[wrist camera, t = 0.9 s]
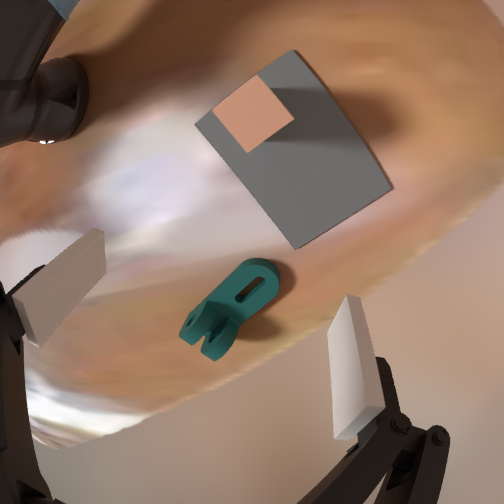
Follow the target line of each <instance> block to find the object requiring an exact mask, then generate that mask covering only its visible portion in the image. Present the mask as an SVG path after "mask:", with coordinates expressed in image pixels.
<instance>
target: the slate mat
mask: <svg viewBox="0 0 504 504" xmlns="http://www.w3.org/2000/svg"><path fill="white" fill-rule="evenodd" d="M256 75H258V76H259V77H260V78H261V80H262V81H263V82H264V83H265V84H266V85H267V86H268V87H269V88H270V89H271V90H272V91H273V93H274V94H275V95H276V96H277V97H278V99H279V100H280V101H281V102H282V103H283V105H284V106H285V107H286V108H287V110H288V111H289V112H290V113H291V115H292V116H293V117H294V118H295V119H294V120H292V121H291V122H290V123H288V124H287V125H285V126H284V127H282V128H281V129H280V130H278V131H277V132H276V133H274V134H273V135H271V136H270V137H269V138H267V139H266V140H265V141H263V142H262V143H261V144H259V145H258V146H256V147H255V148H254V149H252V150H251V151H250V152H248V153H247V152H246V151H245V150H244V149H243V147H242V146H241V145H240V144H239V143H238V141H237V140H236V139H235V138H234V137H233V135H232V134H231V133H230V132H229V131H228V129H227V128H226V127H225V126H224V125H223V123H222V122H221V121H220V120H219V119H218V117H217V116H216V115H215V114H214V113H213V112H212V110H210V111H209V112H208V113H207V114H206V115H205V116H203V117H202V118H201V119H200V120H199V121H198V122H196V123H195V124H194V125H195V126H196V127H197V128H198V130H199V131H200V132H201V133H202V134H203V135H204V137H205V138H206V139H207V140H208V141H209V143H210V144H211V145H212V146H213V147H214V149H215V150H216V151H217V152H218V153H219V155H220V156H221V157H222V158H223V160H224V161H225V162H226V163H227V164H228V166H229V167H230V168H231V169H232V171H233V172H234V173H235V174H236V175H237V177H238V178H239V179H240V180H241V182H242V183H243V184H244V185H245V187H246V188H247V189H248V190H249V192H250V193H251V194H252V195H253V197H254V198H255V199H256V200H257V202H258V203H259V204H260V205H261V207H262V208H263V209H264V211H265V212H266V213H267V214H268V216H269V217H270V218H271V219H272V221H273V222H274V223H275V225H276V226H277V227H278V228H279V230H280V231H281V232H282V234H283V235H284V236H285V238H286V239H287V240H288V241H289V243H290V244H291V245H292V247H293V248H294V249H295V250H296V249H297V248H299V247H301V246H302V245H304V244H306V243H307V242H309V241H310V240H312V239H314V238H315V237H317V236H318V235H320V234H322V233H323V232H325V231H326V230H328V229H330V228H331V227H333V226H334V225H336V224H337V223H339V222H341V221H342V220H344V219H345V218H347V217H348V216H350V215H352V214H353V213H355V212H356V211H358V210H359V209H361V208H363V207H364V206H366V205H367V204H369V203H370V202H372V201H374V200H375V199H377V198H378V197H380V196H381V195H383V194H384V193H386V192H387V191H389V190H391V187H390V185H389V183H388V181H387V180H386V178H385V176H384V175H383V173H382V171H381V169H380V168H379V166H378V164H377V163H376V161H375V160H374V158H373V156H372V155H371V153H370V152H369V150H368V148H367V147H366V145H365V144H364V142H363V141H362V139H361V138H360V136H359V135H358V133H357V132H356V130H355V129H354V127H353V126H352V124H351V123H350V121H349V120H348V119H347V117H346V116H345V114H344V113H343V112H342V110H341V109H340V108H339V106H338V105H337V103H336V102H335V101H334V99H333V98H332V97H331V95H330V94H329V93H328V92H327V90H326V89H325V88H324V86H323V85H322V84H321V83H320V81H319V80H318V79H317V78H316V77H315V75H314V74H313V73H312V72H311V71H310V69H309V68H308V67H307V66H306V65H305V63H304V62H303V61H302V60H301V59H300V58H299V57H298V55H297V54H296V53H295V52H294V51H293V50H291V51H289V52H288V53H286V54H284V55H283V56H282V57H280V58H279V59H277V60H276V61H274V62H273V63H271V64H270V65H268V66H267V67H266V68H264V69H263V70H261V71H260V72H259V73H257V74H256ZM253 77H254V76H253ZM253 77H252V78H253ZM249 80H250V79H249ZM249 80H248V81H249ZM245 83H246V82H245ZM245 83H244V84H245ZM241 86H242V85H241ZM241 86H240V87H241ZM237 89H238V88H237ZM237 89H236V90H237ZM236 90H235V91H236ZM232 93H233V92H232ZM232 93H231V94H232ZM231 94H230V95H231ZM227 97H228V96H227ZM227 97H226V98H227ZM226 98H225V99H226ZM222 101H223V100H222ZM222 101H221V102H222ZM221 102H220V103H221ZM216 106H217V105H216ZM216 106H215V107H216ZM215 107H214V108H215Z"/></svg>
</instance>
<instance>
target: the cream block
mask: <svg viewBox="0 0 504 504" xmlns="http://www.w3.org/2000/svg"><path fill="white" fill-rule="evenodd" d="M212 112H213V113H214V114H215V115H216V116H217V117H218V119H219V120H220V121H221V122H222V123H223V125H224V126H225V127H226V128H227V129H228V131H229V132H230V133H231V134H232V135H233V137H234V138H235V139H236V140H237V141H238V143H239V144H240V145H241V146H242V147H243V149H244V150H245V151H246V152H247V153H248V152H250V151H251V150H252V149H254V148H255V147H256V146H258V145H259V144H261V143H262V142H263V141H265V140H266V139H267V138H269V137H270V136H271V135H273V134H274V133H276V132H277V131H278V130H280V129H281V128H282V127H284V126H285V125H287V124H288V123H290V122H291V121H292V120H294V119H295V118H294V117H293V116H292V115H291V113H290V112H289V111H288V110H287V108H286V107H285V106H284V105H283V103H282V102H281V101H280V100H279V99H278V97H277V96H276V95H275V94H274V93H273V91H272V90H271V89H270V88H269V87H268V86H267V85H266V84H265V83H264V82H263V81H262V80H261V78H260V77H259V76H258V75H255V76H254V77H253V78H251V79H250V80H249V81H247V82H246V83H245V84H243V85H242V86H241V87H239V88H238V89H237V90H236V91H234V92H233V93H232V94H231V95H229V96H228V97H227V98H226V99H224V100H223V101H222V102H221V103H219V104H218V105H217V106H216V107H215V108H213V109H212Z"/></svg>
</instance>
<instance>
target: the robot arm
mask: <svg viewBox="0 0 504 504" xmlns="http://www.w3.org/2000/svg"><path fill="white" fill-rule="evenodd" d="M78 2H79V0H0V148H1V147H4V146H7V145H10V144H13V143H16V142H20V141H24V140H26V141H32V142H39V143H43V144H52V143H56V142H60V141H63V140H65V139H67V138H68V137H70V136H71V135H72V134H73V133H74V132H75V130H76V129H77V128H78V126H79V124H80V123H81V121H82V118H83V116H84V113H85V110H86V107H87V102H88V91H89V89H88V80H87V76H86V73H85V71H84V69H83V67H82V66H81V65H80V63H78V62H77V61H76V60H73V59H70V58H54V59H51V60H49V61H47V62H45V63H42V64H40V63H41V61H42V59H43V58H44V56H45V54H46V52H47V51H48V49H49V47H50V46H51V44H52V42H53V41H54V39H55V37H56V36H57V34H58V33H59V31H60V30H61V28H62V26H63V25H64V24H65V22H66V21H68V19H69V15H70V14H71V12H72V11H73V9H74V8H75V6H76V5H77V3H78ZM105 274H106V260H105V242H104V231H102V230H98V229H95V228H93V229H92V230H90V231H89V232H87V233H86V234H85V235H83V236H82V237H81V238H80V239H78V240H77V241H76V242H74V243H73V244H72V245H70V246H69V247H68V248H67V249H66V250H64V251H63V252H62V253H60V254H59V255H58V256H57V257H55V259H53V260H52V261H51V262H49V264H47V265H42V266H40V267H38V268H35V269H34V270H33V271H32V272H31V273H29V275H27V276H26V277H25V278H24V279H23V280H21V281H20V282H19V283H18V284H17V285H16V286H15V287H14V288H12V289H11V290H10V291H9V292H8V293H7V294H5V291H4V288H3V285H2V283H1V281H0V504H66V503H64V502H61V501H60V500H58V499H55V500H53V499H52V496H51V493H50V490H49V488H48V485H47V483H46V481H45V480H44V479H43V477H42V475H41V473H40V470H39V467H38V463H37V459H36V454H35V450H34V445H33V440H32V434H31V429H30V423H29V416H28V408H27V400H26V390H25V376H24V345H23V339H22V336H23V335H24V334H25V333H26V336H27V338H28V340H29V342H30V343H32V344H34V345H35V346H37V347H38V348H41V347H42V345H43V344H44V343H45V342H46V340H47V339H48V338H49V337H50V336H51V334H52V333H53V332H54V331H55V330H56V328H57V327H58V326H59V325H60V324H61V322H62V321H63V320H64V319H65V318H66V317H67V315H68V314H69V313H70V312H71V311H72V310H73V309H74V307H75V306H76V305H77V304H78V303H79V302H80V301H81V300H82V299H83V297H84V296H85V295H86V294H87V293H88V292H89V291H90V290H91V289H92V288H93V287H94V285H95V284H96V283H97V282H98V281H99V280H100V279H101V278H102V277H103V276H104V275H105ZM327 336H328V346H329V358H330V370H331V385H332V402H333V424H334V439H338V440H351V439H352V438H353V437H355V436H356V435H358V442H357V443H356V444H355V445H354V446H352V447H351V448H350V449H349V450H348V451H347V452H348V453H347V454H346V455H345V456H344V457H343V459H342V460H341V461H340V462H339V463H338V464H337V465H336V466H335V467H334V468H333V470H331V471H330V472H329V473H328V475H327V476H326V477H324V479H322V480H321V481H320V483H318V484H317V485H316V486H315V487H314V488H313V489H312V490H311V491H310V492H309V493H308V494H307V495H306V496H305V497H304V498H302V499H301V500H300V501H299V502H298V503H297V504H363V503H364V502H365V500H366V499H367V498H368V497H369V495H370V494H371V493H372V492H373V490H374V489H375V487H376V486H377V485H378V484H379V482H380V481H381V479H382V478H383V477H384V475H385V474H386V476H385V478H384V481H383V483H382V486H381V488H380V491H379V493H378V495H377V498H376V500H375V502H374V504H437V501H438V498H439V494H440V490H441V486H442V482H443V478H444V473H445V469H446V463H447V458H448V453H449V447H450V436H449V433H448V432H447V431H446V429H445V428H443V427H442V426H438V425H435V426H432V427H431V428H430V429H428V430H427V431H426V430H424V429H420V428H417V427H414V426H412V423H411V421H410V419H409V418H408V417H407V416H406V415H405V414H403V413H401V411H400V407H399V402H398V398H397V393H396V389H395V385H394V381H393V378H392V372H391V369H390V366H389V364H388V363H387V362H386V360H385V358H382V357H375V354H374V350H373V346H372V342H371V337H370V334H369V330H368V326H367V322H366V318H365V314H364V311H363V307H362V303H361V300H360V297H356V296H352V295H348V294H346V296H345V298H344V300H343V302H342V304H341V306H340V308H339V310H338V312H337V314H336V316H335V318H334V320H333V322H332V324H331V326H330V328H329V330H328V332H327ZM386 472H387V473H386Z"/></svg>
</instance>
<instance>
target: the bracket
mask: <svg viewBox="0 0 504 504" xmlns="http://www.w3.org/2000/svg"><path fill="white" fill-rule="evenodd" d="M256 277H263V278H264V280H262V281H261V282H260V283H259V284H258V285H257V286H256V287H255V288H253V289H252V290H251V291H250V292H249V293H248V294H246V295H244V296H242V295H239V294H238V293H239V292H240V291H241V290H243V289H244V288H245V287H246V286H247V285H248V284H249V283H250V282H252V281H253V280H254V279H255V278H256ZM279 284H280V274H279V271H278V269H277V268H276V267H275V266H274V265H273V264H272V263H271V262H269V261H267V260H265V259H261V258H251V259H248V260H246V261H244V262H243V263H241V264H240V265H239V266H238V267H237V268H236V269H235V270H234V271H233V272H232V273H231V274H230V275H229V276H228V277H227V278H226V279H225V280H224V281H223V282H222V283H221V284H220V285H219V286H218V287H216V288H215V289H214V290H213V291H212V292H211V293H210V294H209V295H208V296H207V297H206V298H205V299H204V300H203V301H202V302H201V303H200V304H199V305H198V306H197V307H196V308H195V309H194V310H193V311H192V312H191V313H189V315H188V317H187V319H186V321H185V323H184V325H183V327H182V328H181V330H180V333H179V337H180V338H181V339H183V340H184V341H186V342H187V343H188V344H190V345H194V344H195V343H196V342H198V341H199V340H200V339H201V338H202V336H203V335H204V336H205V339H204V342H203V344H202V347H201V353H202V354H204V355H205V356H207V357H208V358H210V359H211V360H213V361H216V360H218V359H220V358H221V357H222V356H223V355H224V354H225V353H226V352H227V351H228V350H229V348H230V347H231V346H232V344H233V342H234V341H235V338H236V336H237V333H238V329H239V326H240V325H241V324H242V323H243V322H244V321H246V320H247V319H248V318H250V317H251V316H252V315H253V314H255V313H256V312H257V311H258V310H260V309H261V308H262V307H263V306H265V305H266V304H267V303H268V302H269V301H271V300H272V299H273V298H274V297H275V296H276V295H277V293H278V290H279Z"/></svg>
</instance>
